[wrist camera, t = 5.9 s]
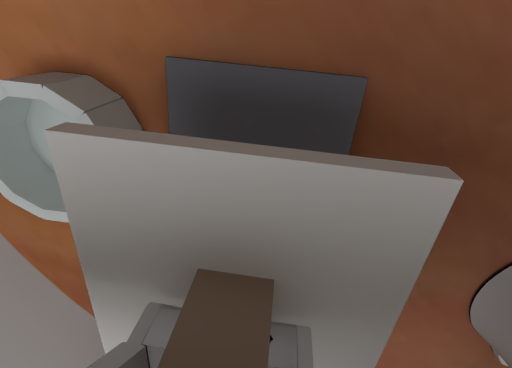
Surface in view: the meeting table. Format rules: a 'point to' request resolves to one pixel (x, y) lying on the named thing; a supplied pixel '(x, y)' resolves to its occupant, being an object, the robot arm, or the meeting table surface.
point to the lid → (246, 241)
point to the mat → (263, 105)
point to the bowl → (33, 136)
